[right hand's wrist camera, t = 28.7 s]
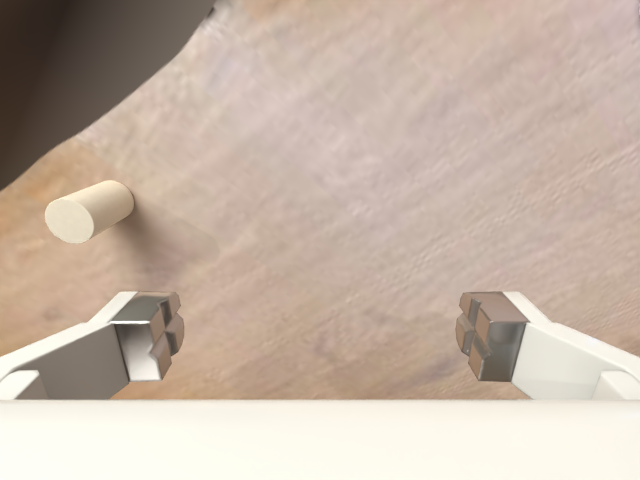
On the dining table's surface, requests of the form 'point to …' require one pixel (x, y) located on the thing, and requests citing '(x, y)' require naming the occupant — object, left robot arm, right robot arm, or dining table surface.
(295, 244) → the dining table surface
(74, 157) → the dining table surface
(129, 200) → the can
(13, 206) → the dining table surface
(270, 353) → the dining table surface
